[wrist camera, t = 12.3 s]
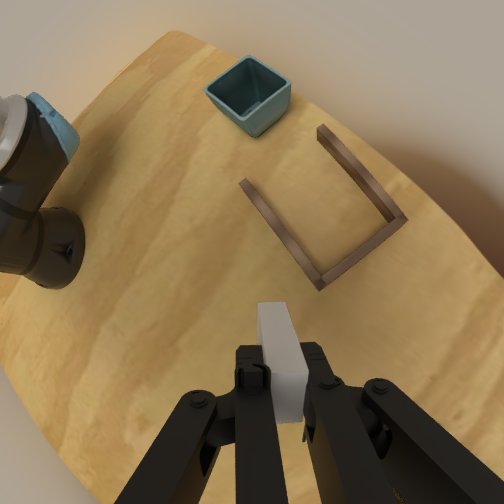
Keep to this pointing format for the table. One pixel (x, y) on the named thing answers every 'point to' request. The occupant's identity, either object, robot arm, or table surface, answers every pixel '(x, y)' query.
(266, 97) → the flower pot
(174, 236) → the table surface
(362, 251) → the wooden tray rim
